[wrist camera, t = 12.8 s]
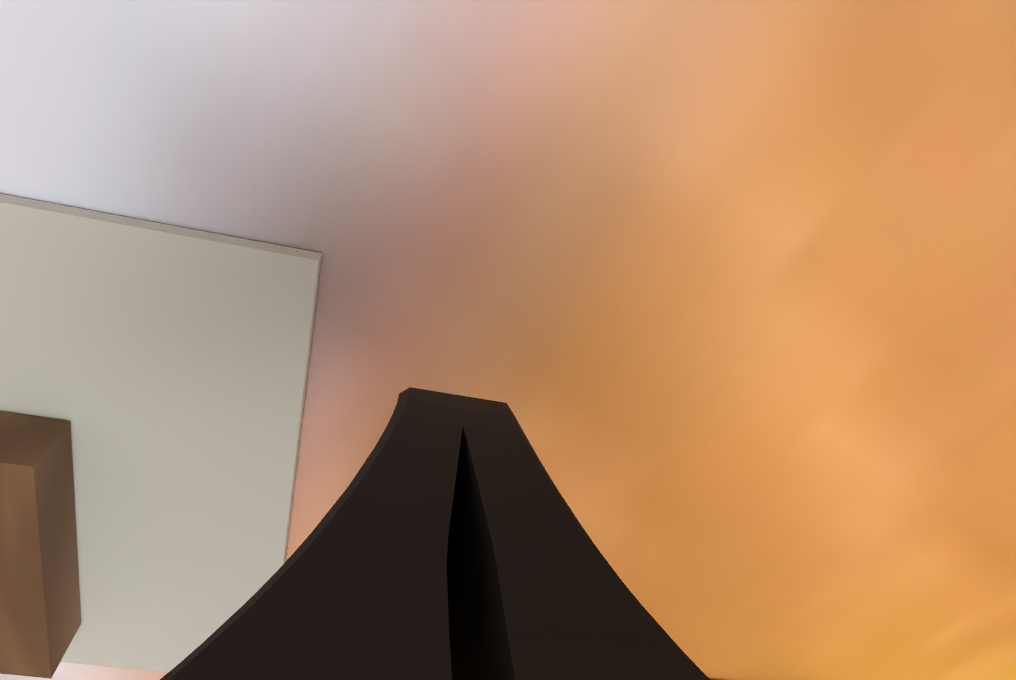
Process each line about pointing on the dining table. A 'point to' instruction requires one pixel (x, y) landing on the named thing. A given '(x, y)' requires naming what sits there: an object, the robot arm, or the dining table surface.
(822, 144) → the dining table surface
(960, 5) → the dining table surface
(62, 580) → the tile
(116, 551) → the mat
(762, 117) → the dining table surface
